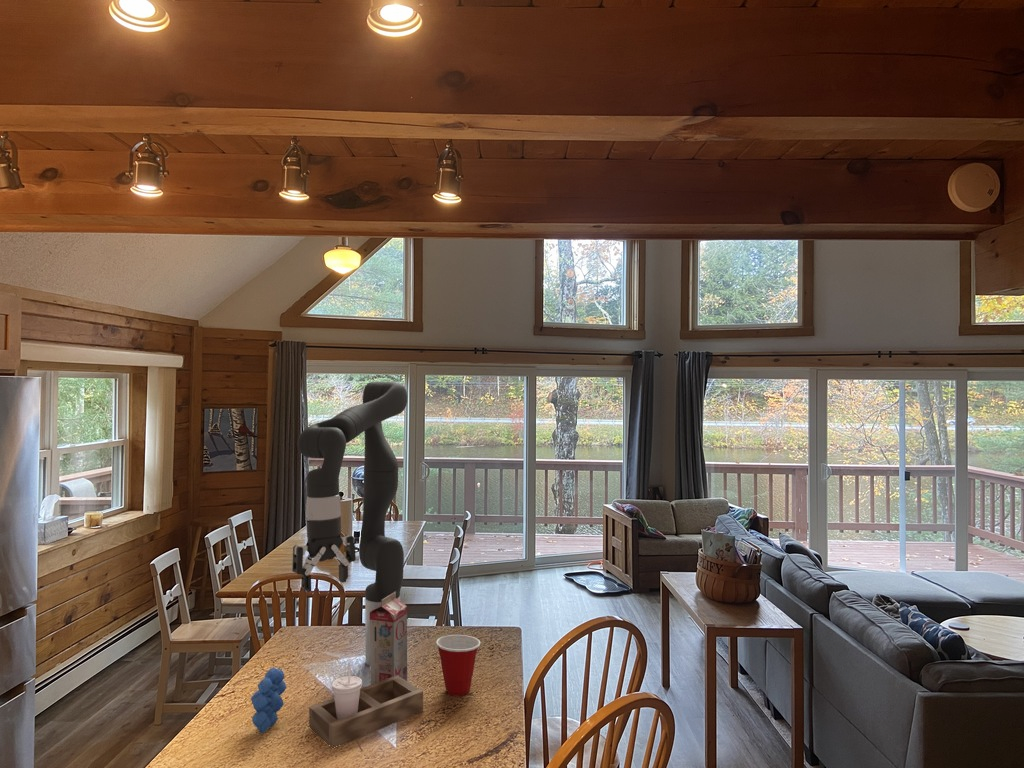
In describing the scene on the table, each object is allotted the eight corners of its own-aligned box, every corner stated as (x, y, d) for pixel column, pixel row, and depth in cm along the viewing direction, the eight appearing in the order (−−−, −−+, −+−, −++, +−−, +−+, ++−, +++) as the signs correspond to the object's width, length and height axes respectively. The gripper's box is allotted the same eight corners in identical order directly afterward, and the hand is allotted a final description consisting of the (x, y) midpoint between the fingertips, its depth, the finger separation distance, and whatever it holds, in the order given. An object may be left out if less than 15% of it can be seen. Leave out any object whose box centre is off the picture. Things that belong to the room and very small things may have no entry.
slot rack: (397, 693, 149) (397, 675, 149) (423, 711, 141) (423, 691, 141) (309, 727, 134) (309, 706, 134) (332, 749, 126) (332, 726, 126)
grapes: (264, 711, 141) (264, 658, 142) (293, 713, 141) (292, 659, 141) (236, 740, 130) (235, 682, 130) (266, 741, 129) (266, 683, 129)
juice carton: (407, 680, 156) (406, 592, 156) (393, 693, 150) (393, 601, 150) (384, 677, 158) (383, 590, 158) (370, 688, 152) (369, 598, 152)
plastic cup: (490, 689, 151) (489, 639, 151) (457, 705, 143) (456, 653, 143) (460, 675, 158) (459, 628, 159) (427, 690, 151) (426, 641, 151)
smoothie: (354, 736, 131) (353, 669, 131) (326, 733, 132) (325, 667, 132) (367, 720, 137) (366, 657, 137) (340, 718, 138) (340, 654, 138)
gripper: (344, 508, 149) (345, 575, 149) (286, 517, 139) (287, 590, 139) (360, 512, 143) (361, 582, 143) (301, 522, 134) (302, 598, 134)
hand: (325, 586), depth 141 cm, fingers open, 8 cm apart
